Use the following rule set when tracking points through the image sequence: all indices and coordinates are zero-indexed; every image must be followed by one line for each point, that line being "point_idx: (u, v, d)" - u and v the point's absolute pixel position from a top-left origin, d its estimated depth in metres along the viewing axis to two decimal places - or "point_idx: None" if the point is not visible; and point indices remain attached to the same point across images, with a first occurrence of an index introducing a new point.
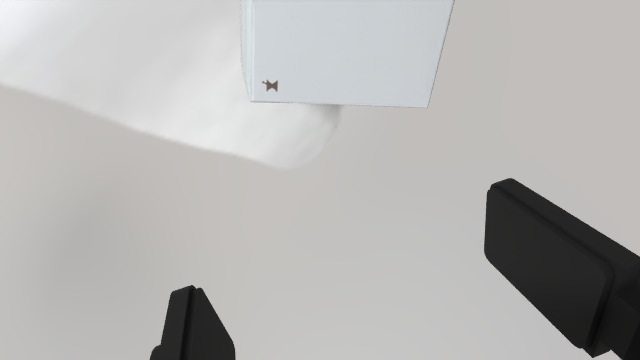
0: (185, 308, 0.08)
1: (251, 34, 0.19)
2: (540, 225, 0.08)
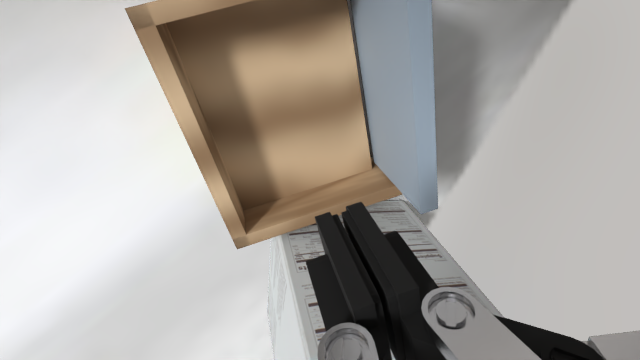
0: (336, 225, 0.10)
1: None
2: None
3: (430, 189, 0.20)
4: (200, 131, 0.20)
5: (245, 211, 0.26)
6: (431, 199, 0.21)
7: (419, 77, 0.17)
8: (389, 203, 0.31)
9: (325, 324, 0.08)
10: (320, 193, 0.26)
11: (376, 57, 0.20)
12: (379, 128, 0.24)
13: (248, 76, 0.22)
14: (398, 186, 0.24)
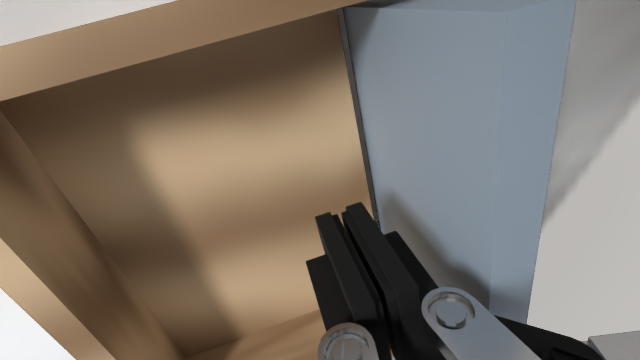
0: (336, 225, 0.10)
1: None
2: None
3: None
4: (60, 303, 0.10)
5: None
6: None
7: (509, 239, 0.07)
8: None
9: (325, 324, 0.08)
10: (305, 333, 0.17)
11: (399, 150, 0.11)
12: None
13: (171, 175, 0.12)
14: None
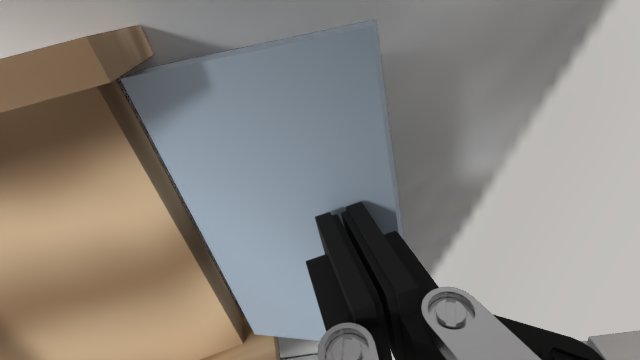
0: (336, 225, 0.10)
1: None
2: None
3: None
4: None
5: None
6: None
7: (393, 180, 0.11)
8: None
9: (325, 324, 0.08)
10: None
11: (260, 183, 0.12)
12: (274, 285, 0.15)
13: None
14: None
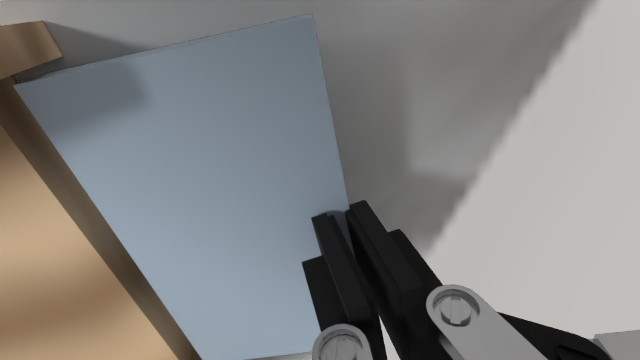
0: (332, 226, 0.10)
1: None
2: (367, 248, 0.09)
3: None
4: None
5: None
6: None
7: (342, 174, 0.11)
8: None
9: (320, 325, 0.08)
10: None
11: (202, 193, 0.10)
12: (225, 304, 0.13)
13: None
14: (304, 348, 0.15)
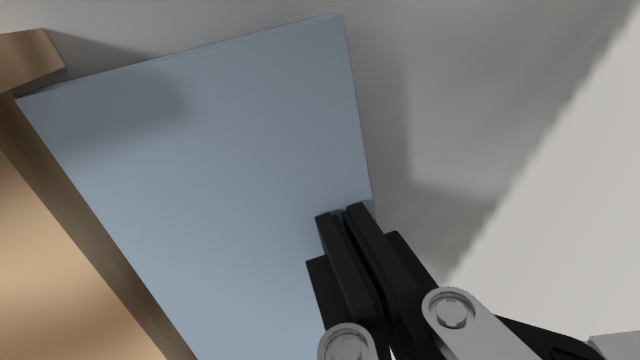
0: (335, 225, 0.10)
1: None
2: None
3: None
4: None
5: None
6: None
7: None
8: None
9: (325, 324, 0.08)
10: None
11: (226, 202, 0.10)
12: (245, 321, 0.13)
13: None
14: None
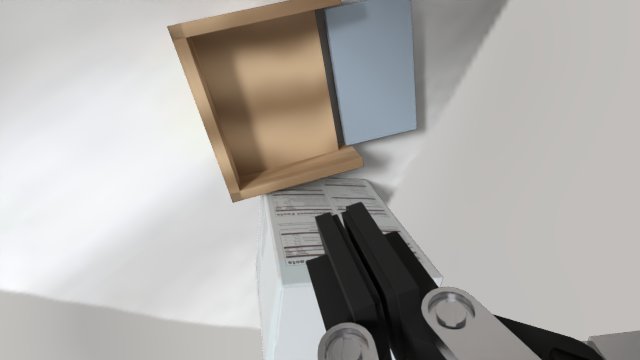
0: (336, 225, 0.10)
1: None
2: None
3: None
4: (210, 110, 0.28)
5: (240, 177, 0.35)
6: None
7: None
8: (354, 181, 0.40)
9: (325, 324, 0.08)
10: (297, 165, 0.35)
11: (368, 50, 0.32)
12: (363, 105, 0.34)
13: (246, 75, 0.31)
14: (388, 132, 0.36)
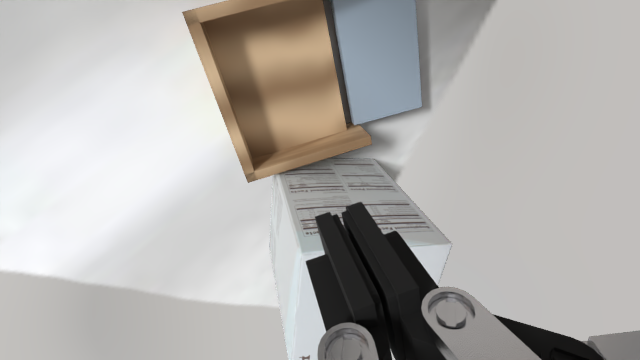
0: (336, 225, 0.10)
1: (293, 337, 0.28)
2: None
3: None
4: (225, 93, 0.29)
5: (253, 159, 0.36)
6: None
7: None
8: (362, 160, 0.41)
9: (325, 324, 0.08)
10: (308, 146, 0.36)
11: (373, 30, 0.33)
12: (370, 85, 0.36)
13: (257, 58, 0.32)
14: (395, 111, 0.37)
